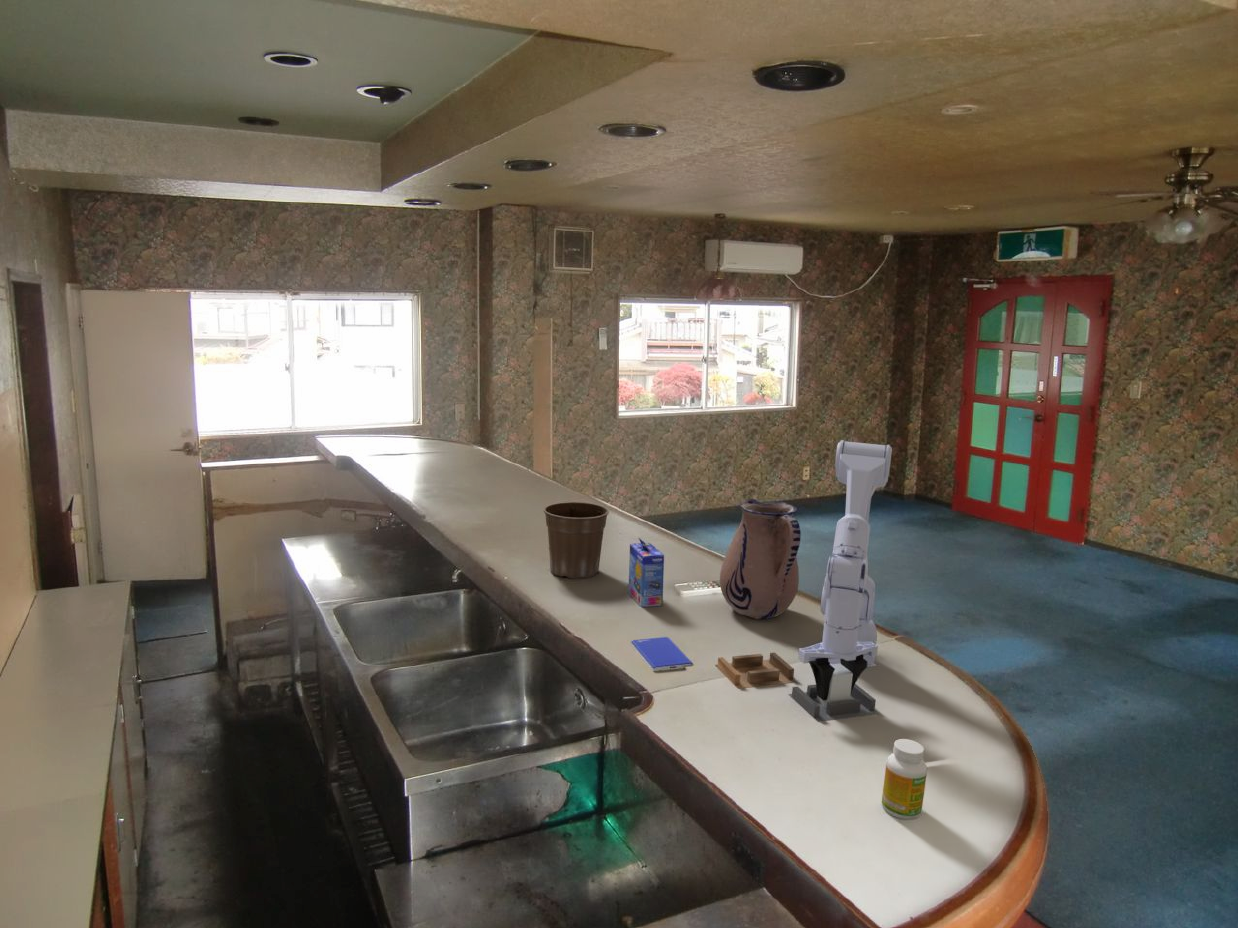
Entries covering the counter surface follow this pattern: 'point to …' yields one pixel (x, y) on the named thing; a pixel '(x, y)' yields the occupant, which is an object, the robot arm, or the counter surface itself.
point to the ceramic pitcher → (762, 560)
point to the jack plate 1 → (756, 670)
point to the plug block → (838, 685)
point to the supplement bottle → (905, 780)
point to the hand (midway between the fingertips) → (833, 696)
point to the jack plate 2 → (835, 704)
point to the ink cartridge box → (646, 574)
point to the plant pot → (575, 537)
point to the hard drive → (661, 653)
